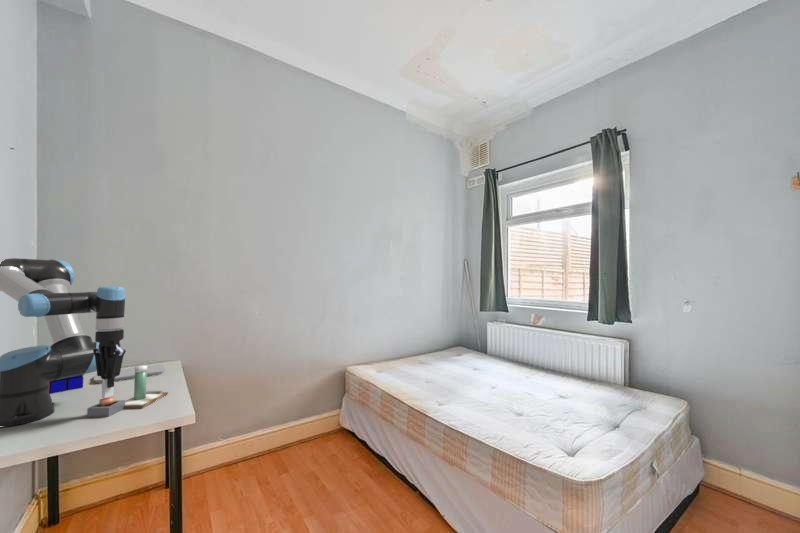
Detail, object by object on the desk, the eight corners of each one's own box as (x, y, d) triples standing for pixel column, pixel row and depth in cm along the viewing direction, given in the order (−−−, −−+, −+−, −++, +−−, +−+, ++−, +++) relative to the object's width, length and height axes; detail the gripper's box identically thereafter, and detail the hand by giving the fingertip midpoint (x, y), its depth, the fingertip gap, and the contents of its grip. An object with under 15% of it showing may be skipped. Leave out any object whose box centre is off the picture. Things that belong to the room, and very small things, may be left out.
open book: (142, 408, 116) (142, 403, 116) (113, 409, 116) (113, 404, 116) (167, 394, 130) (168, 390, 130) (142, 395, 130) (142, 390, 130)
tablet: (164, 375, 159) (165, 370, 159) (92, 386, 142) (93, 381, 142) (162, 368, 171) (162, 363, 172) (96, 377, 155) (96, 372, 155)
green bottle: (141, 400, 121) (142, 367, 122) (130, 400, 121) (132, 367, 122) (148, 396, 125) (149, 365, 126) (138, 396, 125) (139, 365, 125)
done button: (108, 405, 111) (108, 400, 111) (96, 405, 111) (96, 401, 111) (117, 400, 115) (117, 396, 115) (105, 401, 115) (106, 396, 115)
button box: (108, 416, 109) (109, 407, 110) (87, 417, 109) (87, 408, 109) (124, 408, 116) (125, 400, 117) (104, 408, 116) (105, 400, 116)
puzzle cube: (49, 394, 131) (50, 369, 132) (46, 389, 137) (47, 365, 138) (83, 387, 139) (84, 364, 140) (78, 383, 145) (79, 361, 146)
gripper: (134, 328, 116) (132, 394, 115) (109, 327, 119) (107, 391, 118) (110, 332, 109) (108, 402, 108) (84, 330, 112) (82, 398, 111)
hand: (107, 396), depth 113 cm, fingers closed
